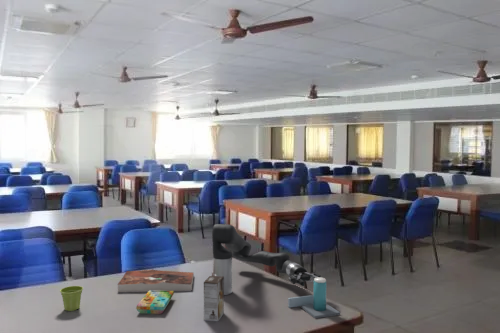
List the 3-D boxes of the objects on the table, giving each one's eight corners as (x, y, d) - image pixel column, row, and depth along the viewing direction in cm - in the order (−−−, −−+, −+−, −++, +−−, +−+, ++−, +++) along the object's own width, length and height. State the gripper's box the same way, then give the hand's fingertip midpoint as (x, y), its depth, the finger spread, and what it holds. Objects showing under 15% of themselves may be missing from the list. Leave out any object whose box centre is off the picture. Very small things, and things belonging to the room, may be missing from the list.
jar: (317, 311, 187) (317, 281, 186) (311, 307, 192) (311, 277, 192) (328, 310, 189) (328, 280, 188) (322, 305, 194) (322, 276, 194)
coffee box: (209, 312, 189) (209, 275, 188) (224, 313, 187) (224, 276, 187) (203, 320, 180) (203, 281, 179) (218, 321, 178) (218, 282, 178)
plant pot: (61, 314, 185) (60, 294, 185) (59, 306, 193) (59, 287, 193) (84, 310, 189) (84, 290, 189) (82, 303, 198) (81, 284, 197)
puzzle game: (136, 304, 185) (148, 288, 205) (136, 315, 186) (148, 298, 206) (164, 304, 185) (173, 289, 205) (164, 315, 185) (173, 299, 205)
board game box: (193, 277, 240) (193, 268, 239) (191, 291, 216) (191, 281, 216) (127, 278, 237) (127, 269, 236) (117, 292, 213) (117, 282, 213)
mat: (314, 318, 182) (314, 316, 182) (300, 307, 195) (300, 305, 194) (339, 314, 186) (340, 312, 186) (324, 304, 199) (324, 302, 199)
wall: (288, 307, 194) (289, 298, 194) (288, 306, 195) (288, 298, 195) (324, 302, 200) (324, 294, 200) (323, 302, 201) (323, 293, 201)
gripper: (309, 278, 215) (325, 289, 200) (282, 281, 211) (297, 292, 195) (309, 263, 215) (326, 273, 199) (283, 265, 210) (297, 276, 195)
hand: (311, 283), depth 197 cm, fingers open, 8 cm apart
